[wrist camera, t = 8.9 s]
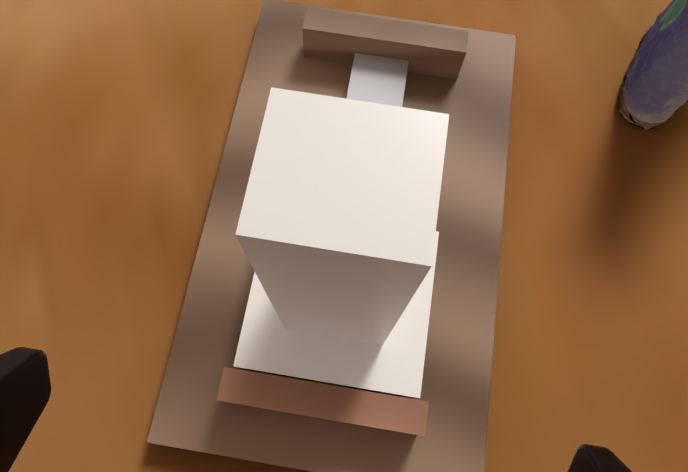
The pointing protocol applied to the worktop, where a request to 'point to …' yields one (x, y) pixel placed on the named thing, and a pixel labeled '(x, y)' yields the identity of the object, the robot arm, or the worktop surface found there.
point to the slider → (342, 241)
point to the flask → (658, 70)
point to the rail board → (450, 268)
